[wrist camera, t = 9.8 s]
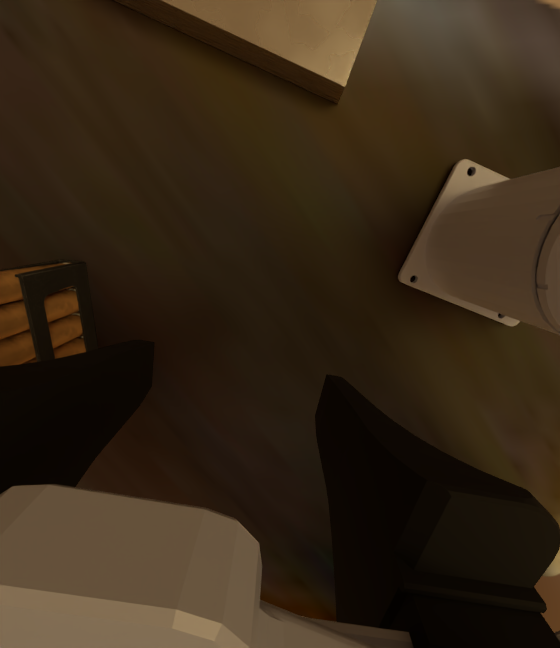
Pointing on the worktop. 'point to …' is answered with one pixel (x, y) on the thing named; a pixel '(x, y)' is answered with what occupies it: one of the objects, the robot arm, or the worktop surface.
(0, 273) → the ammunition clip
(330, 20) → the plate with square hole
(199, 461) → the worktop surface
